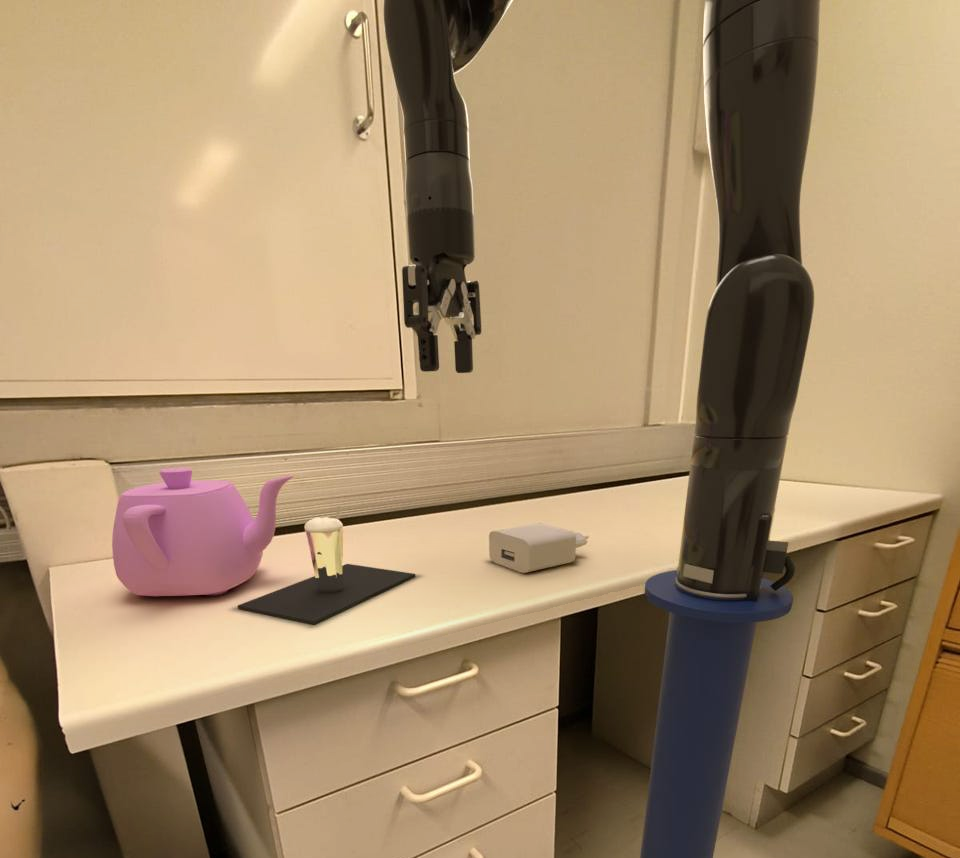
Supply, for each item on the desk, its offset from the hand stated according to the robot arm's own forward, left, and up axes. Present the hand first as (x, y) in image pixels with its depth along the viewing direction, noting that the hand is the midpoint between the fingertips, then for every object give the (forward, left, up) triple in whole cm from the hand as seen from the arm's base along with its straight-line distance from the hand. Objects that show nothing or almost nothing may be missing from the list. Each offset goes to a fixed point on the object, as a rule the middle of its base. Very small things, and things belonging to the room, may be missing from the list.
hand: (448, 372), depth 72 cm
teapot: (+28, +19, -26) cm, 42 cm away
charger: (-9, -12, -26) cm, 30 cm away
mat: (+10, +14, -26) cm, 31 cm away
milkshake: (+10, +14, -25) cm, 31 cm away
